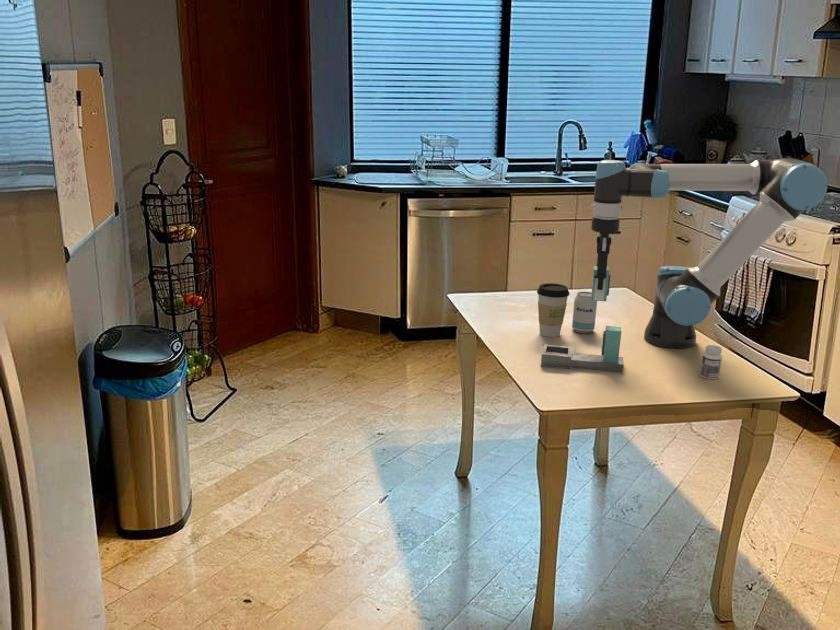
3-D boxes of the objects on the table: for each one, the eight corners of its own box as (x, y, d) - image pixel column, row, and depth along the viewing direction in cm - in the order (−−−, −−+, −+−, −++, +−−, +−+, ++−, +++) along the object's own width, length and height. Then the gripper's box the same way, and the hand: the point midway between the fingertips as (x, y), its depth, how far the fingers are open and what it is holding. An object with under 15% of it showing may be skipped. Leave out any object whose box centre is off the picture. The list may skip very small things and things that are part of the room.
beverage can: (571, 333, 247) (574, 295, 243) (572, 326, 253) (575, 290, 250) (593, 335, 245) (597, 298, 242) (594, 328, 252) (598, 292, 248)
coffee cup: (565, 340, 240) (569, 292, 236) (532, 337, 242) (536, 289, 237) (566, 330, 249) (570, 284, 245) (534, 327, 251) (538, 281, 247)
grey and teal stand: (621, 364, 222) (626, 325, 219) (622, 374, 215) (627, 334, 211) (542, 356, 226) (545, 318, 223) (540, 366, 219) (544, 326, 215)
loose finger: (607, 297, 230) (610, 267, 227) (608, 301, 226) (611, 270, 223) (591, 296, 231) (593, 266, 228) (591, 300, 227) (594, 269, 224)
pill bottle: (704, 371, 218) (708, 343, 216) (721, 376, 215) (725, 347, 213) (697, 376, 215) (701, 347, 212) (715, 381, 212) (719, 351, 209)
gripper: (592, 211, 230) (585, 288, 237) (592, 221, 214) (585, 305, 221) (618, 212, 228) (611, 290, 236) (620, 223, 212) (612, 307, 219)
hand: (598, 297), depth 228 cm, fingers closed on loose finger, 4 cm apart
